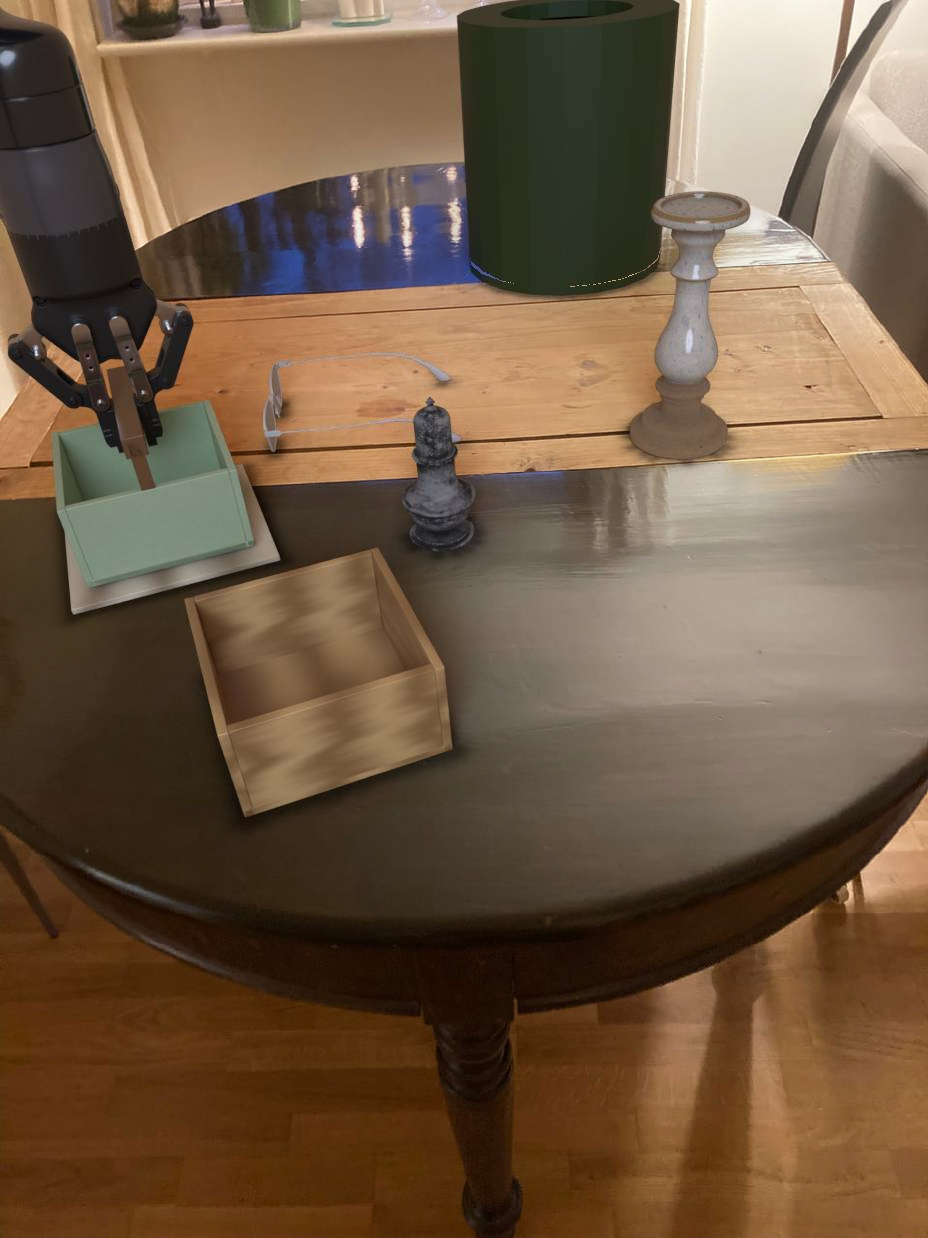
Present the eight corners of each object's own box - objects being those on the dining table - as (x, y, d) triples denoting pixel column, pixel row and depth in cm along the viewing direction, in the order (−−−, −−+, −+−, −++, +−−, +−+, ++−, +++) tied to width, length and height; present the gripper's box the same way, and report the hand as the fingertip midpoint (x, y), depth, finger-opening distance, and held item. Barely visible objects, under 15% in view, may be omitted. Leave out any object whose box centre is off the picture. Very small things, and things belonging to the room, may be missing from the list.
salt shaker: (394, 547, 74) (376, 410, 66) (422, 507, 78) (408, 375, 70) (463, 558, 72) (453, 420, 64) (487, 518, 76) (480, 383, 69)
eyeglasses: (279, 392, 97) (272, 356, 94) (450, 376, 97) (447, 340, 95) (268, 466, 85) (260, 427, 82) (463, 447, 86) (460, 408, 83)
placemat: (73, 615, 70) (71, 610, 69) (64, 510, 81) (62, 505, 81) (280, 560, 73) (279, 555, 73) (243, 467, 85) (242, 463, 85)
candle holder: (722, 465, 80) (755, 223, 68) (621, 455, 83) (635, 219, 70) (730, 418, 87) (762, 189, 74) (637, 410, 89) (652, 186, 76)
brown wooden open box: (245, 818, 54) (217, 736, 49) (209, 678, 63) (183, 598, 59) (452, 749, 57) (444, 666, 52) (389, 626, 66) (378, 546, 62)
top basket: (87, 588, 70) (35, 458, 63) (78, 505, 80) (31, 383, 73) (255, 545, 73) (223, 417, 66) (227, 470, 83) (197, 350, 76)
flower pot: (537, 311, 109) (535, 35, 92) (435, 255, 127) (417, 14, 109) (700, 264, 118) (728, 4, 100) (585, 217, 136) (591, -12, 118)
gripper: (-51, 246, 56) (48, 488, 67) (175, 208, 60) (233, 446, 71) (-45, 214, 62) (45, 443, 73) (161, 181, 65) (217, 406, 76)
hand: (138, 444), depth 72 cm, fingers closed on top basket
